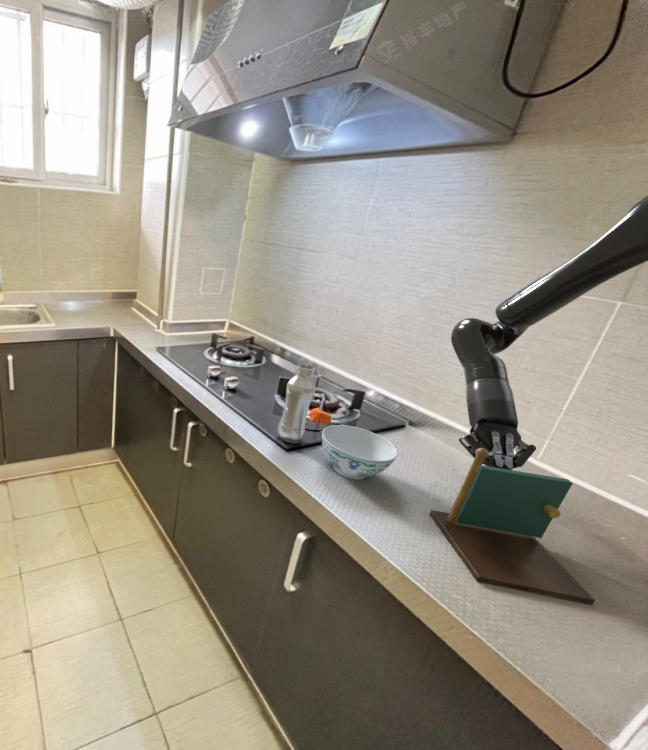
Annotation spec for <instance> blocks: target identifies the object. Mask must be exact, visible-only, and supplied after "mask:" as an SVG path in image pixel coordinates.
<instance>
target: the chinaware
mask: <svg viewBox="0 0 648 750" xmlns="http://www.w3.org/2000/svg"><path fill="white" fill-rule="evenodd" d="M321 445H322V449H323V452H324V454H325V456H326V458H327V460H328V461H329V462H330V463H331V465H332V466H333V470H334V471H335V472H337V473H338V474H339V475H341V476H342V477H344V478H347V479H350V480H364V479H365V478H366V477H372V476H375V475H378V474H381V473H383V472H384V471H385V470H387V469H388V468H389V467H390V466H391V465H392V464H393V463H394V461H395V460H396V459H397V456H398V450H397V448H396V447H395V445H393V444H392V442H390V441H389V440H388V439H386V438H385V437H383V436H381V435H379V434H377V433H375V432H372V431H370V430H367V429H364V428H361V427H358V426H352V425H346V424H341V425H331V426H328V427H326V428H324V429H323V431H322V432H321Z"/></svg>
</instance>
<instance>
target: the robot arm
mask: <svg viewBox="0 0 648 750" xmlns="http://www.w3.org/2000/svg"><path fill="white" fill-rule="evenodd" d="M646 262H648V195H646V196H644V197H643V198H642V199H640V200H639V201H638V202H636V203H635V204H634V205H632V206H631V207H630V208H629V209H628V210H627V211H626V212H625V213H624V215H623V216H622V218H621V219H619V221H617V222H616V223H615V224H614V225H612V227H611V228H609V230H607V231H606V232H605V233H604V234H603V235H601V236H600V237H599V238H598V239H597V240H596V241H594V242H593V243H592V244H590V245H589V246H588V247H587V248H585V249H583V251H581V252H580V253H578V254H577V255H575V256H574V257H572V258H571V259H569V260H567V261H566V262H564V263H563V264H561V265H559V266H557V267H556V268H554V269H552V270H550V271H549V272H547V273H545V274H544V275H541V276H540V277H538V278H537V279H534V280H533V281H531V282H530V283H529V284H527V285H525V286H524V287H521V289H519V290H518V291H516V292H515V293H513V294H512V295H510V296H508V297H507V298H506V299H504V300H503V301H502V302H500V303H499V304H498V305H497V306H496V308H495V310H494V311H495V312H494V314H495V316H496V318H497V319H498V320H497V321H496V322H495V323H492V322H488V321H486V320H482V319H479V318H476V317H475V318H474V317H467V318H463V319H461V320H459V321H458V322H457V323H456V324H455V325H454V327H452V328H453V329H452V331H451V334H450V335H451V336H450V342H451V346H452V349H453V350H454V353H455V355H456V357H457V360H458V362H459V364H460V365H461V367H462V369H463V373H464V375H463V376H464V382H465V400H466V401H465V402H466V407H467V414H468V415H467V416H468V421H469V426H470V427H471V428H470V429H469V434H467V435H464V436H462V437H460V438H458V441H459V443H460V444H461V446H463V448H464V449H465V450H466V451H467V452H468V453H469V455H471V457H472V458H473V460H474V459H475V456H476V454H475V451H476V450H477V449H478V448H484V449H486V450H487V451H488V452H489V455H488V457H487V458H485V459H484V461H483V463H482V465H483V466H489V467H495V468H502V469H508V470H514V469H517V468H522V467H523V466H524V465H525V463H526V462H527V461H528V460H529V459H530V458H531V456H532V455H534V453H535V452H536V450H537V446H536V445H534V444H528V443H527V442H526V441H523V439H522V435H521V433H520V432H519V431H518V426H519V420H518V419H519V418H518V413H517V409H516V404H515V403H516V402H515V397H514V393H513V390H512V387H511V385H510V380H509V374H508V371H507V370H508V369H507V365H506V363H505V361H504V360H503V359H502V358H500V357H499V356H497V354H499V353H502V352H504V351H506V350H507V349H508V348H509V347H511V345H512V344H514V343H515V342H516V341H517V340H518V339H519V338H520V337H521V336H523V334H524V333H525V332H526V331H527V330H528V329H529V328H530V327H532V326H534V325H536V324H537V323H539V322H540V321H542V320H544V319H546V318H547V317H549V316H551V315H553V314H554V313H556V312H557V311H559V310H561V309H563V308H564V307H566V306H567V305H569V304H571V303H572V302H574V301H576V300H577V299H579V298H581V296H584V295H586V294H587V293H588V292H590V291H592V290H593V289H595V288H597V287H598V286H600V285H601V284H604V283H605V282H607V281H609V280H611V279H614V278H616V277H617V276H618V275H621V274H623V273H625V272H627V271H629V270H631V269H633V268H635V267H638V266H640V265H642V264H644V263H646ZM514 451H515V452H514Z"/></svg>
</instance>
